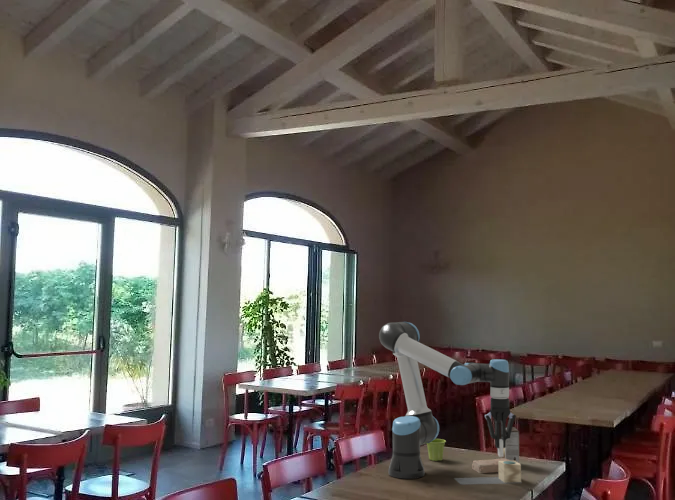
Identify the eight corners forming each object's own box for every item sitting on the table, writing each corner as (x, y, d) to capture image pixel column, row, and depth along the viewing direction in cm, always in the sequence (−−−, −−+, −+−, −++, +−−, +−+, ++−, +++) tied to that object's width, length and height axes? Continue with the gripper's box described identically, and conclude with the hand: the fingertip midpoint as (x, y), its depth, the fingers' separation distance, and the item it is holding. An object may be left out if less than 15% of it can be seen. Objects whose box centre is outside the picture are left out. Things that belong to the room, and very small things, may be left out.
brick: (480, 475, 296) (480, 463, 296) (471, 470, 304) (471, 459, 304) (515, 473, 300) (515, 461, 301) (505, 468, 308) (505, 457, 309)
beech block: (520, 464, 283) (521, 482, 282) (514, 460, 289) (515, 477, 289) (504, 464, 282) (504, 482, 281) (498, 460, 289) (498, 478, 288)
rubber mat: (460, 485, 278) (460, 484, 278) (453, 479, 288) (453, 478, 288) (522, 484, 281) (522, 483, 281) (513, 477, 290) (513, 476, 290)
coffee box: (501, 462, 318) (500, 426, 319) (515, 462, 317) (514, 426, 319) (505, 467, 308) (505, 430, 310) (520, 467, 308) (519, 430, 309)
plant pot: (423, 461, 320) (423, 441, 320) (427, 456, 329) (427, 438, 329) (444, 462, 317) (444, 443, 317) (447, 458, 326) (447, 439, 326)
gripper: (487, 399, 283) (487, 458, 281) (518, 398, 284) (519, 457, 282) (481, 396, 290) (482, 454, 288) (512, 396, 291) (512, 453, 290)
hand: (500, 455), depth 285 cm, fingers closed
